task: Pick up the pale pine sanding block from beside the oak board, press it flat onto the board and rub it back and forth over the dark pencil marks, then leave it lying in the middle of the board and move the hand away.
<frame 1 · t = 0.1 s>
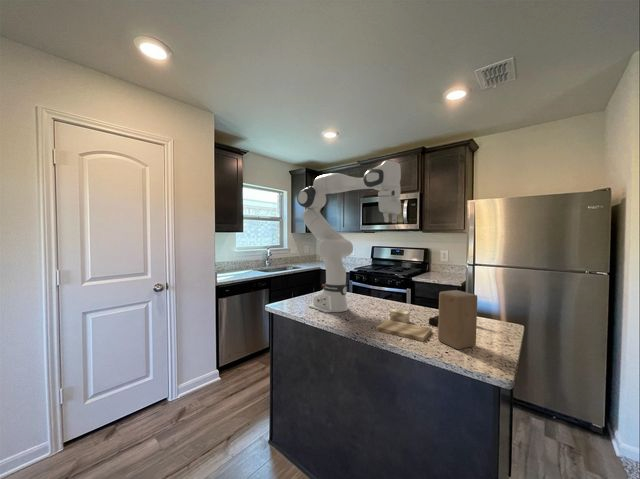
hand: (390, 222, 133), 48 cm above the worktop, tool pointing down, fingers open, 8 cm apart
sanding block: (399, 321, 133), on the worktop
board: (403, 331, 119), on the worktop
hand tool: (440, 322, 134), on the worktop
wooden block: (456, 344, 107), on the worktop
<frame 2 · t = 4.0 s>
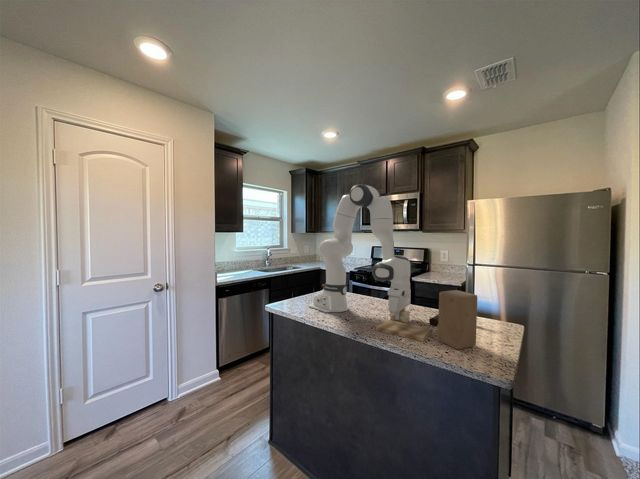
hand: (399, 317, 133), 2 cm above the worktop, tool pointing down, fingers closed on sanding block, 4 cm apart
sanding block: (399, 321, 133), on the worktop, touching gripper
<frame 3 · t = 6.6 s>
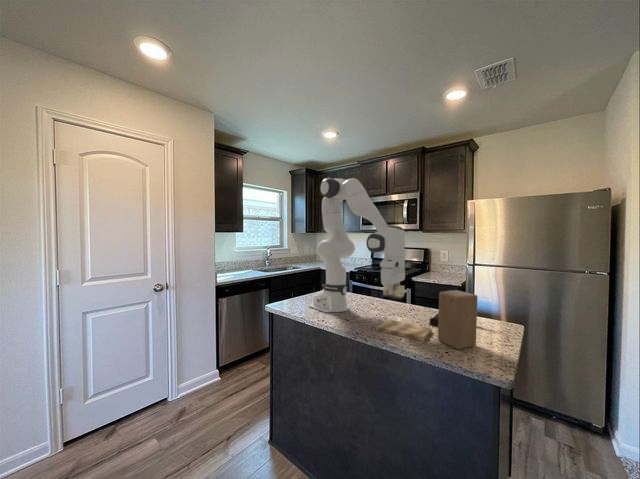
hand: (393, 292, 122), 16 cm above the worktop, tool pointing down, fingers closed on sanding block, 4 cm apart
sanding block: (393, 296, 122), point 14 cm above the worktop, touching gripper
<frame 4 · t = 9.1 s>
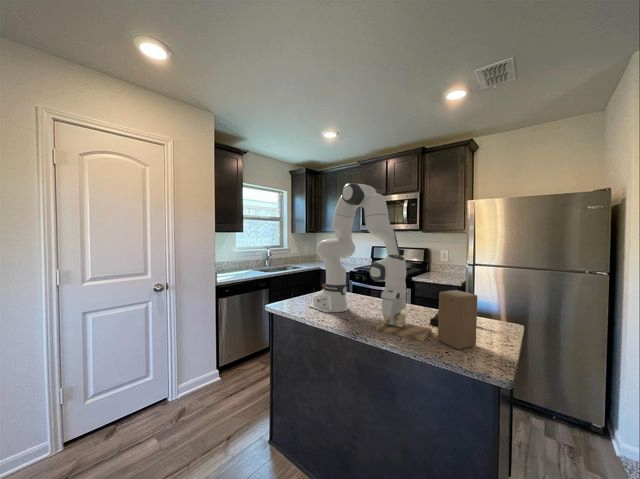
hand: (394, 322, 122), 3 cm above the worktop, tool pointing down, fingers closed on sanding block, 4 cm apart
sanding block: (394, 325, 122), point 2 cm above the worktop, touching gripper
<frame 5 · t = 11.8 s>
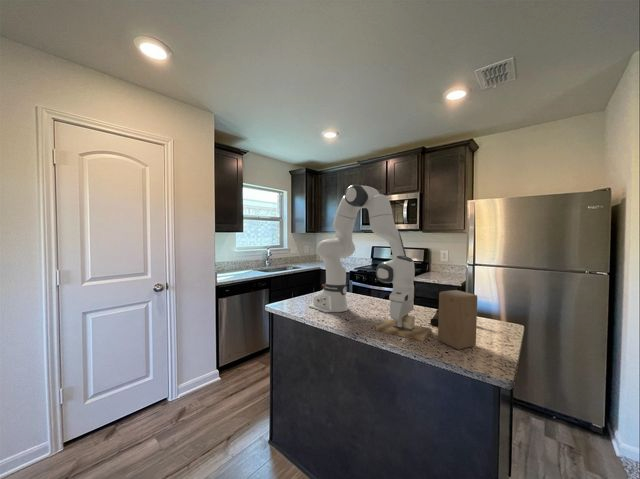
hand: (402, 324, 120), 3 cm above the worktop, tool pointing down, fingers closed on sanding block, 4 cm apart
sanding block: (403, 327, 120), point 2 cm above the worktop, touching gripper
when the fingers open (3 cm above the worktop, at t = 14.0 s): sanding block stays where it is, resting on board.
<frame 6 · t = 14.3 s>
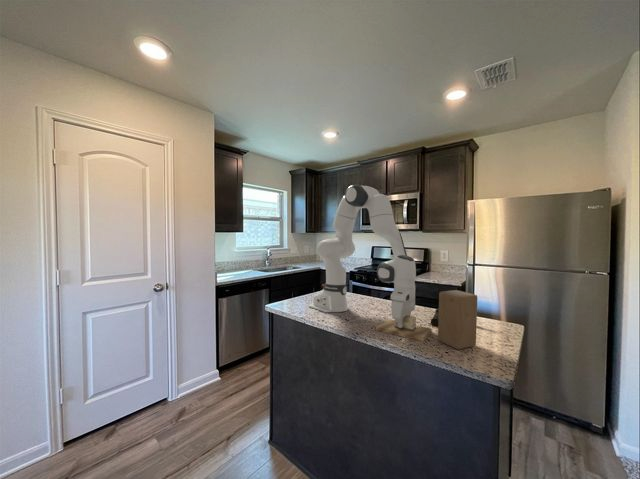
hand: (403, 324, 119), 3 cm above the worktop, tool pointing down, fingers open, 7 cm apart
sanding block: (405, 327, 119), point 2 cm above the worktop, touching board
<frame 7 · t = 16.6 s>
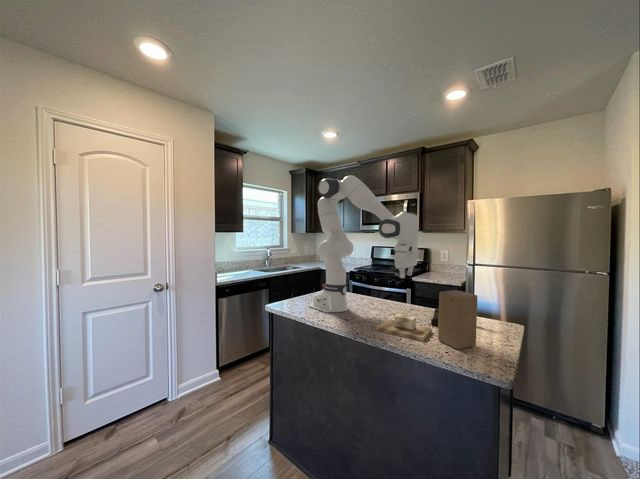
hand: (406, 276, 126), 23 cm above the worktop, tool pointing down, fingers open, 8 cm apart
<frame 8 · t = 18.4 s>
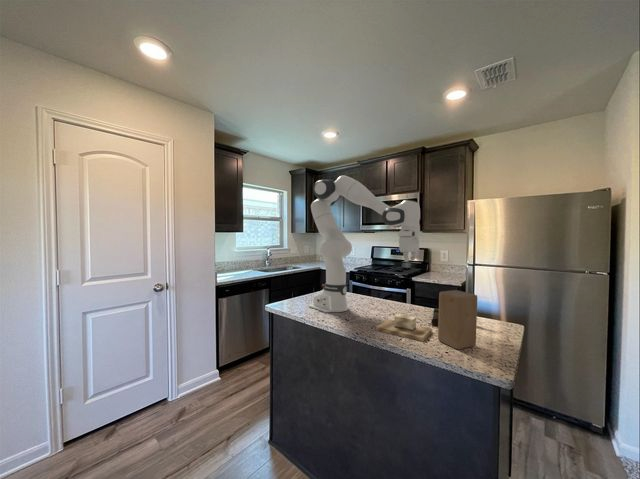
hand: (409, 260, 136), 29 cm above the worktop, tool pointing down, fingers open, 8 cm apart
at the end: sanding block inside the target area on the board (0.6 cm from its centre), point 1.5 cm above the board's base; sanding block moved 13.8 cm from its start; the gripper is holding nothing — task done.
